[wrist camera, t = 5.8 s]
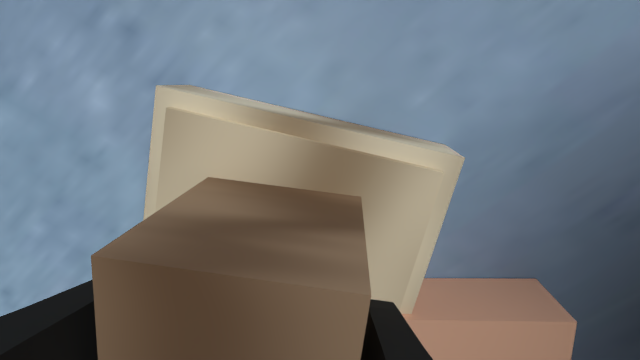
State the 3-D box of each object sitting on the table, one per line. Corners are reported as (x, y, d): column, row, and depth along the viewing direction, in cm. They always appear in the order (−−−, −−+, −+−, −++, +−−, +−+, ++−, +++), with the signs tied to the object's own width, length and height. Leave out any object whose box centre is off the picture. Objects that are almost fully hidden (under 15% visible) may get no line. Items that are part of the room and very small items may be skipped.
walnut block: (361, 196, 10) (371, 295, 6) (341, 329, 12) (336, 504, 7) (208, 176, 11) (91, 256, 6) (204, 309, 12) (104, 465, 7)
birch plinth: (445, 144, 12) (468, 160, 10) (376, 357, 15) (381, 411, 12) (189, 84, 12) (150, 85, 10) (162, 305, 15) (126, 348, 12)
